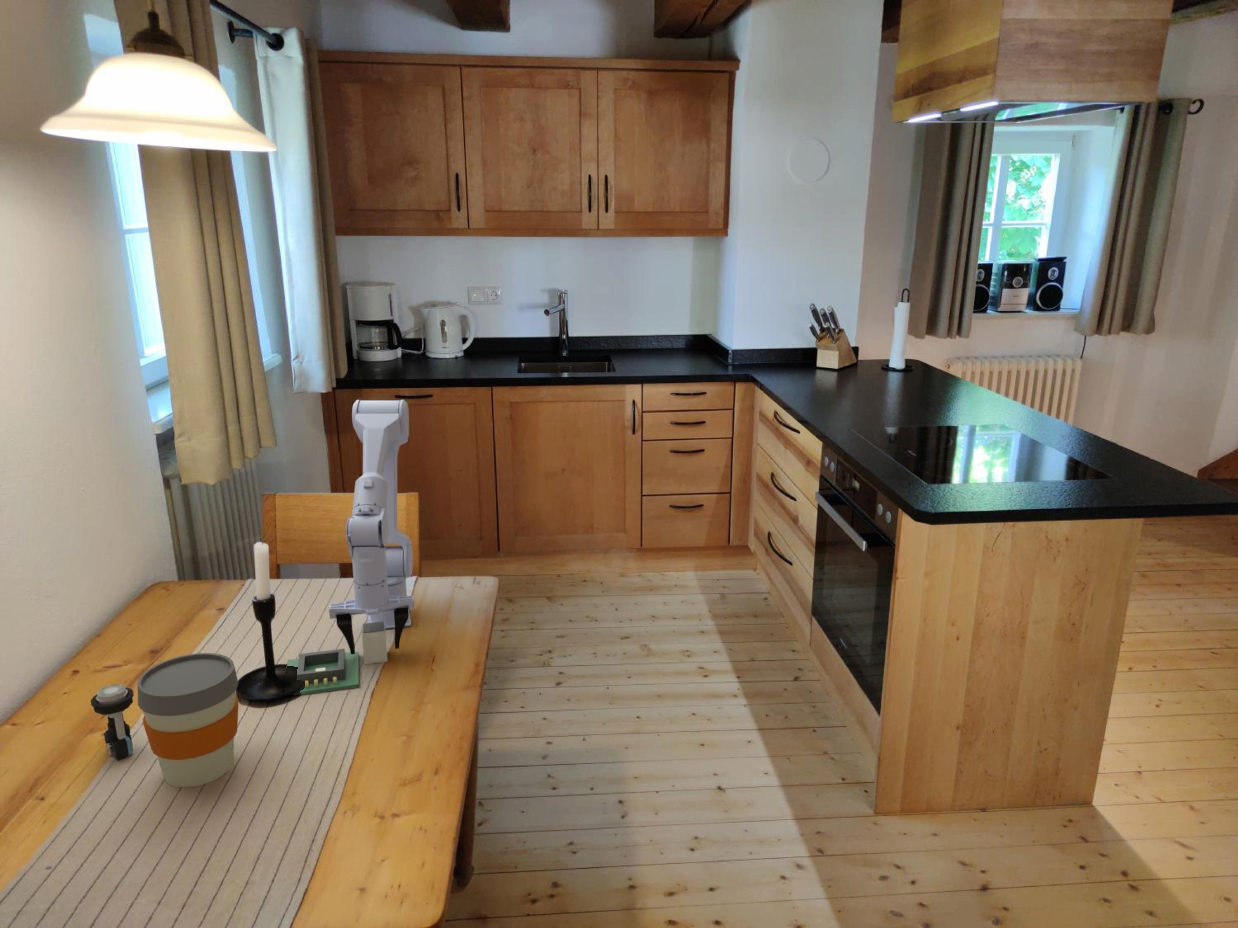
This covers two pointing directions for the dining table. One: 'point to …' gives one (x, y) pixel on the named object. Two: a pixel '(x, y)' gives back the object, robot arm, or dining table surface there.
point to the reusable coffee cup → (191, 716)
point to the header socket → (327, 670)
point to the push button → (115, 718)
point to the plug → (374, 642)
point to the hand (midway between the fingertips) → (375, 648)
